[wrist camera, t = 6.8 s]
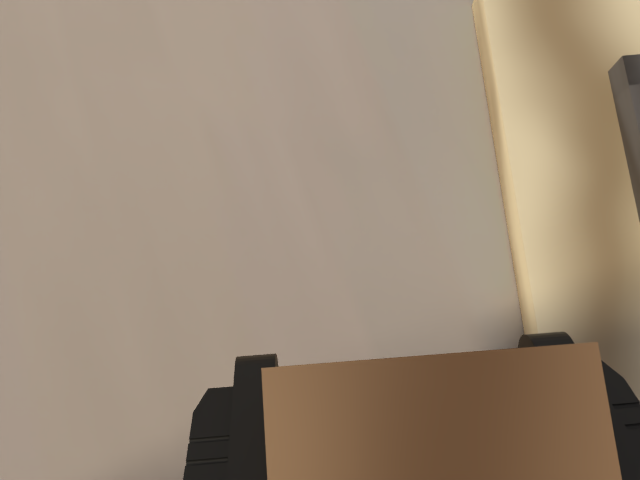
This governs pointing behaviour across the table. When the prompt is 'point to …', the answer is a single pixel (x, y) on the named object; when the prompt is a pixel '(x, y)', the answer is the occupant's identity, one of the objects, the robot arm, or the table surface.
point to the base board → (570, 164)
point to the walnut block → (443, 417)
